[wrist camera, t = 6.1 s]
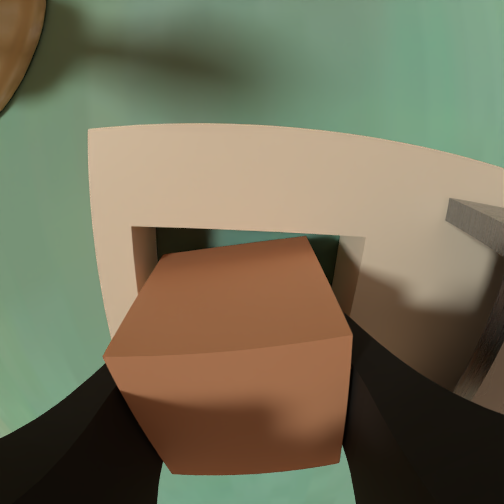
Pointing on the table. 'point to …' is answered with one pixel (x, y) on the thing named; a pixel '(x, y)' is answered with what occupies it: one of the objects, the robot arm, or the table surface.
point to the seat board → (310, 222)
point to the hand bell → (17, 41)
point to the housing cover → (500, 320)
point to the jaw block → (237, 360)
